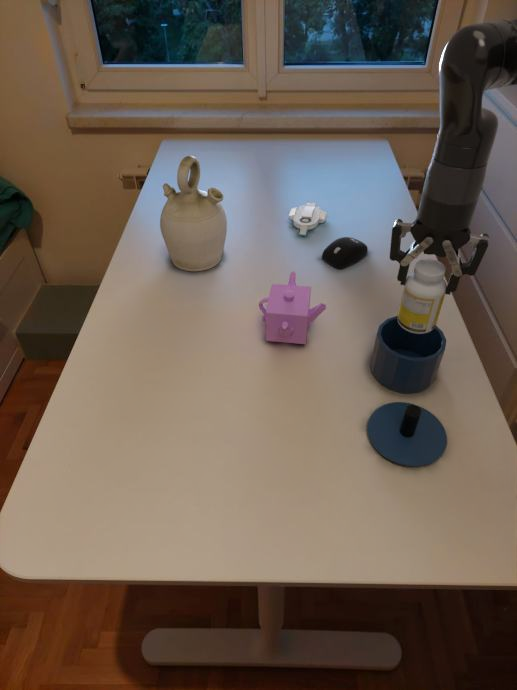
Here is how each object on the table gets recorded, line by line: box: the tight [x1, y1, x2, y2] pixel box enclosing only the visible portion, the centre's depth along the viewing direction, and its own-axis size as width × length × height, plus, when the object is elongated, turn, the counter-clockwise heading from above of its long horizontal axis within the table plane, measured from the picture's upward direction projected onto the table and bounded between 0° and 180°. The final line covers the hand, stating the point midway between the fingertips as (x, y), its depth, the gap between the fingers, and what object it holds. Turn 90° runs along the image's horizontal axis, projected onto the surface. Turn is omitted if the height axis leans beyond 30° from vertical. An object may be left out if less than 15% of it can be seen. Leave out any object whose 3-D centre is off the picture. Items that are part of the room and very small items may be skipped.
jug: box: [159, 155, 228, 272], centre depth 114 cm, size 15×16×25 cm
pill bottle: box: [397, 258, 447, 334], centre depth 82 cm, size 6×6×12 cm
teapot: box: [258, 271, 327, 345], centre depth 99 cm, size 18×13×10 cm
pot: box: [370, 315, 447, 395], centre depth 91 cm, size 12×12×8 cm
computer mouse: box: [321, 236, 369, 270], centre depth 121 cm, size 8×12×4 cm, turn 129°
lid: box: [366, 401, 448, 468], centre depth 81 cm, size 13×13×7 cm
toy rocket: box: [288, 201, 328, 237], centre depth 134 cm, size 16×10×2 cm, turn 166°
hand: (425, 286), depth 81 cm, fingers closed on pill bottle, 6 cm apart
